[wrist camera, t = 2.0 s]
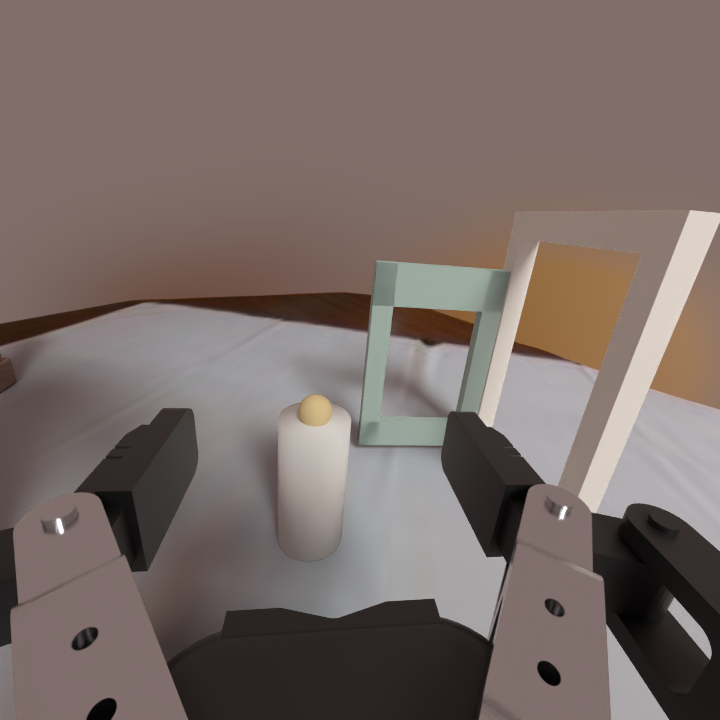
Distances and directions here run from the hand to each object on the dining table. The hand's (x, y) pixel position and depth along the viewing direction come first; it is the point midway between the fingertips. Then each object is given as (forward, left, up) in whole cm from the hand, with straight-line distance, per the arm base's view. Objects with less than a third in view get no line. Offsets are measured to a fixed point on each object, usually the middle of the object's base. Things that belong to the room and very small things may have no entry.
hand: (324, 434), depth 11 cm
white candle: (0, +13, -18) cm, 22 cm away
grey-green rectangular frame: (+11, +25, -17) cm, 32 cm away
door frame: (+20, +18, -18) cm, 32 cm away
